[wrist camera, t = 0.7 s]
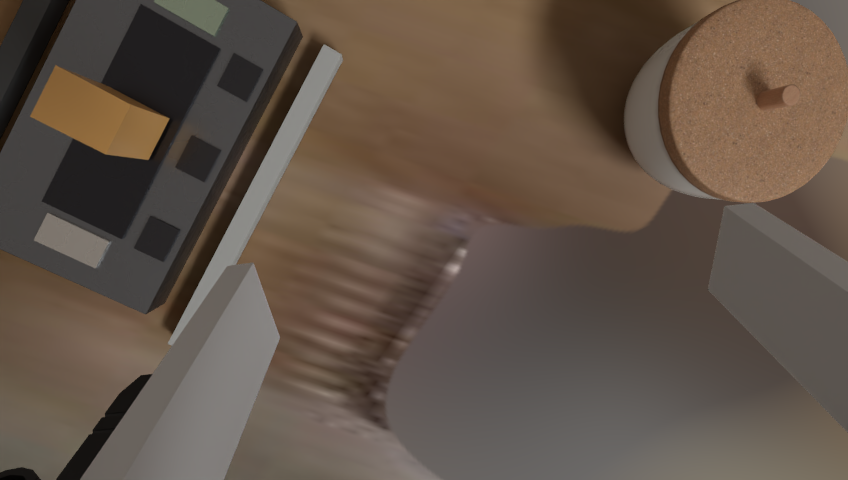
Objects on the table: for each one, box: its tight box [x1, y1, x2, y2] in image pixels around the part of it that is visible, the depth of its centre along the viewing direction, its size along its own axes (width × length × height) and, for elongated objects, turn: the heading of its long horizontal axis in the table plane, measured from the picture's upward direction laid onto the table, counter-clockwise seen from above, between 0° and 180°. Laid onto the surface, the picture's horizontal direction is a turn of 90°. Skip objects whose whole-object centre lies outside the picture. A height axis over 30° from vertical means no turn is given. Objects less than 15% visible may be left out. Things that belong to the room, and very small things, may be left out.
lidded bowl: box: [624, 0, 848, 203], centre depth 32 cm, size 13×13×11 cm
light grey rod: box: [168, 44, 343, 345], centre depth 33 cm, size 24×1×1 cm, turn 151°
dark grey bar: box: [0, 0, 69, 138], centre depth 31 cm, size 24×1×1 cm, turn 151°
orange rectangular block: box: [30, 65, 170, 160], centre depth 27 cm, size 3×4×5 cm
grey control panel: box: [0, 0, 303, 314], centre depth 31 cm, size 22×12×3 cm, turn 151°
